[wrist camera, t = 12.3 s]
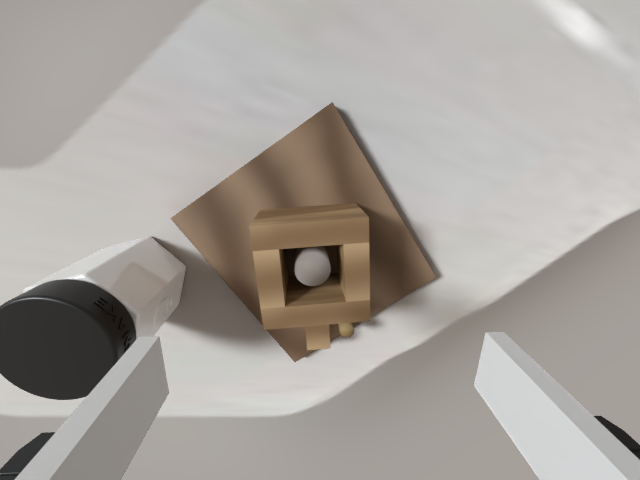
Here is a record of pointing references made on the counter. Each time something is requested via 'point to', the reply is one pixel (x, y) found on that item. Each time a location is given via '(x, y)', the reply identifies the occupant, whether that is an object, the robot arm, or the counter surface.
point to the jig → (300, 191)
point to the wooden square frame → (322, 300)
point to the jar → (87, 318)
